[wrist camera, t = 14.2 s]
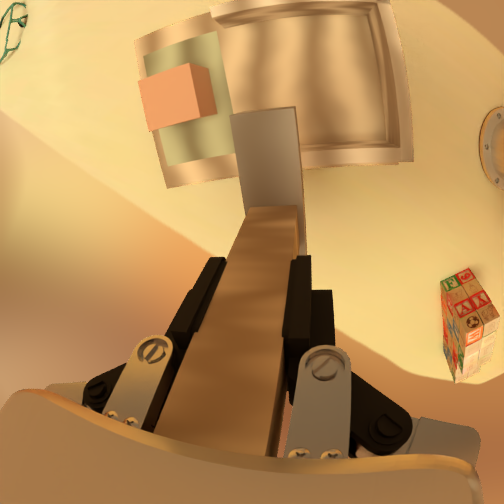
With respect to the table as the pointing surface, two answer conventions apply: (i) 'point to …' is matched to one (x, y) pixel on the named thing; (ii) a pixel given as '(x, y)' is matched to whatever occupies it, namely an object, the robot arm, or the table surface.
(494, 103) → the table surface
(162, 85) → the block
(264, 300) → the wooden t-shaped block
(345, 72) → the cubby
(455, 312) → the stack of blocks
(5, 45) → the sunglasses
